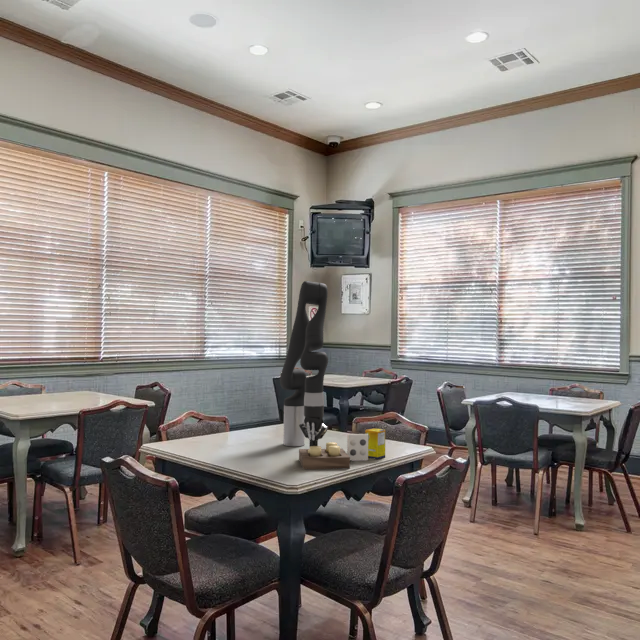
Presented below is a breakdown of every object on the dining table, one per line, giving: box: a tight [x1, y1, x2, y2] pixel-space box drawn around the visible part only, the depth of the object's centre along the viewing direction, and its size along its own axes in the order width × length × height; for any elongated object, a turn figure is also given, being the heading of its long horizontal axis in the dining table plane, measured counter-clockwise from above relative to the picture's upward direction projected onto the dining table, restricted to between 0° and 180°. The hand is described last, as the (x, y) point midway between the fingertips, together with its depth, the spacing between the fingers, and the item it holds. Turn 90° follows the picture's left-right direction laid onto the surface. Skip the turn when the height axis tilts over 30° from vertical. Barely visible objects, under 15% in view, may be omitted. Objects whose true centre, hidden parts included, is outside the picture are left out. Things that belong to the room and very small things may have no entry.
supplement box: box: [364, 427, 386, 460], centre depth 240 cm, size 6×6×11 cm
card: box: [346, 433, 369, 461], centre depth 234 cm, size 1×8×10 cm, turn 97°
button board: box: [298, 448, 351, 470], centre depth 226 cm, size 17×17×4 cm
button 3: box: [325, 441, 338, 453], centre depth 230 cm, size 4×4×3 cm
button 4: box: [329, 445, 341, 456], centre depth 223 cm, size 4×4×3 cm
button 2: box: [309, 445, 322, 457], centre depth 223 cm, size 4×4×3 cm
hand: (313, 449), depth 230 cm, fingers closed
